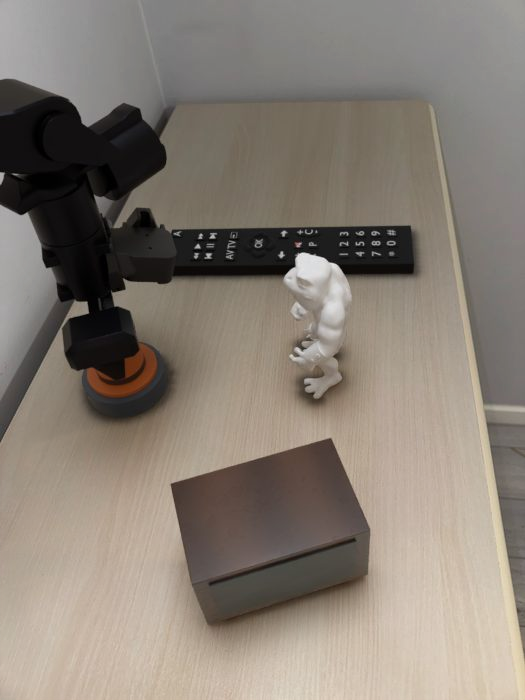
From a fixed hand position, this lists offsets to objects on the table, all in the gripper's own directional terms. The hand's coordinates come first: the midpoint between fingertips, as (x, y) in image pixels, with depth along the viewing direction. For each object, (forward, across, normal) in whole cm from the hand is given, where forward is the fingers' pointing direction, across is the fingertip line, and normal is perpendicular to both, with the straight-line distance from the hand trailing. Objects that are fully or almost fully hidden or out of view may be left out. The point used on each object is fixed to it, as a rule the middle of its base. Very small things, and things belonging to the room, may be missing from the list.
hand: (114, 346), depth 71 cm
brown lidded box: (+6, -25, -10) cm, 27 cm away
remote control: (+6, +15, -23) cm, 28 cm away
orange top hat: (+4, 0, 0) cm, 4 cm away
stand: (+6, 0, 0) cm, 6 cm away
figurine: (+6, -5, -21) cm, 22 cm away
